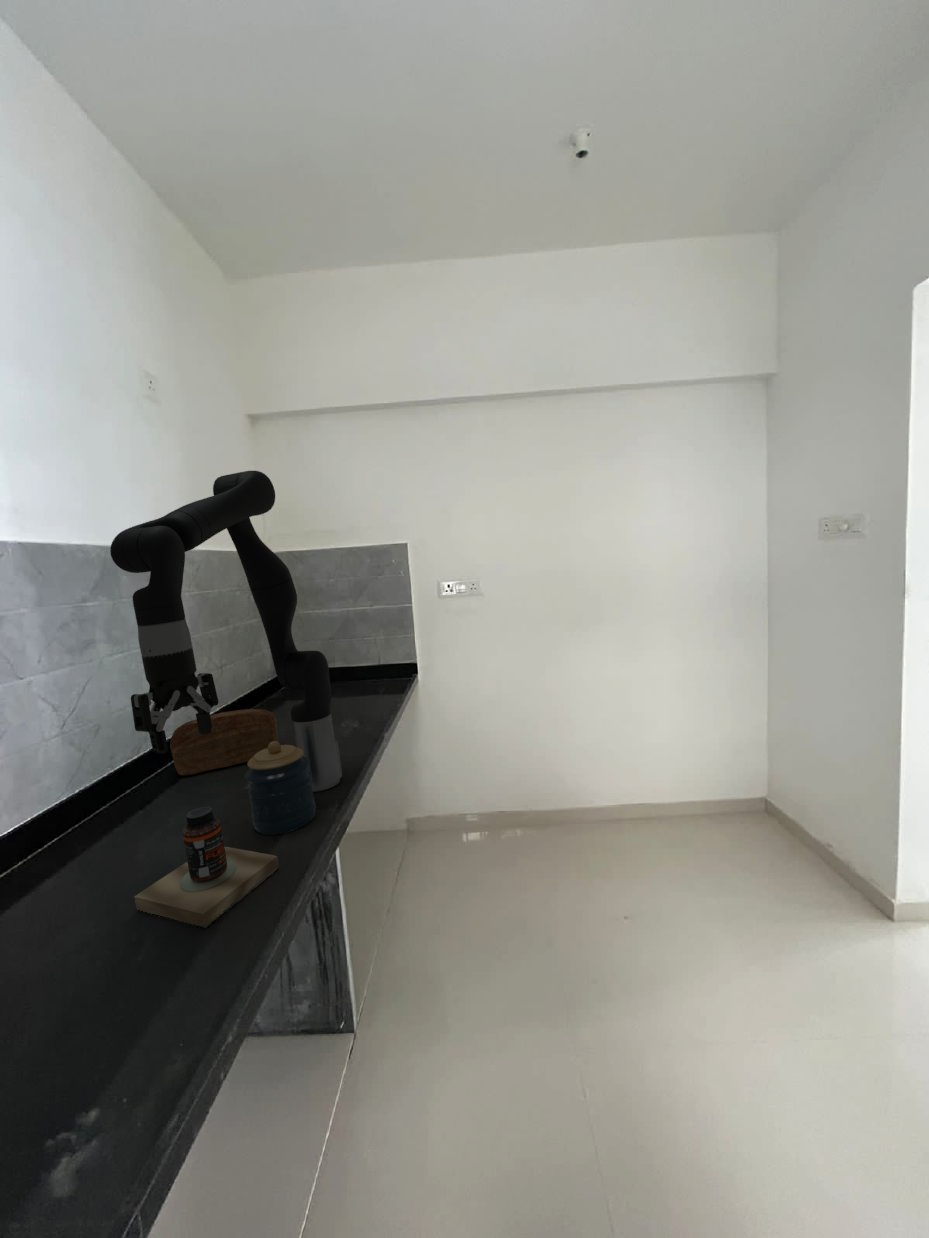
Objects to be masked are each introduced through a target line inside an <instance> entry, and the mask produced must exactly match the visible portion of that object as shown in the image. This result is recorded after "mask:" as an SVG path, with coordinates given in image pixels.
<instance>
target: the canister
mask: <svg viewBox="0 0 929 1238" xmlns="http://www.w3.org/2000/svg"><path fill="white" fill-rule="evenodd" d="M303 753H304V752H303V750H302V749H300V748H297V747H296V745H292V744H281V743H280V742H279V741H278V742H277V741H273V742H270V743H269V745H268V748H266V749H264V750H261V751H259V752H258V753H256V754H255V755H254V757H252V758H251V759H250V760H249V761H248V762H247V767H248V768H249V769H248V770H247V771H245V773H244V778H245V779H246V781H247V782H248V787H247V794H248V796H249V803H250V809H251V814H252V816H251V820H252V824H253V826H254V829H255V831H256V832H258V833H259V834H261V835H267V836H268V835H269V836H273V835H272V834H276V835H282V834H285V833H284V832H287V833H290V832H292V831H291V830H293V831H295V830H294V829H296V828H298V829H300V828H302V827H304V826H306V825H307V824H309V823H310V822H311V821H312V820H313V819H314V817H315V816H316V809H317V805H316V801H315V799H314V792H313V790H312V783H311V774H310V773H309V772H308V769H307V767H308V765H309V760H308V759H307V758H306V757H303ZM312 818H313V819H312ZM309 821H310V822H309ZM308 822H309V823H308ZM303 825H304V826H303ZM301 826H302V827H301ZM296 830H297V829H296ZM289 831H290V832H289ZM281 833H282V834H281Z"/></svg>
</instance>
